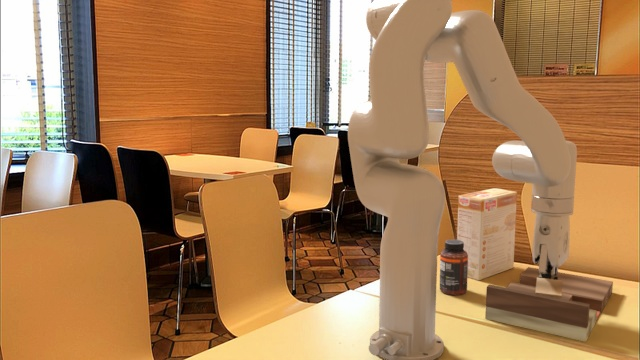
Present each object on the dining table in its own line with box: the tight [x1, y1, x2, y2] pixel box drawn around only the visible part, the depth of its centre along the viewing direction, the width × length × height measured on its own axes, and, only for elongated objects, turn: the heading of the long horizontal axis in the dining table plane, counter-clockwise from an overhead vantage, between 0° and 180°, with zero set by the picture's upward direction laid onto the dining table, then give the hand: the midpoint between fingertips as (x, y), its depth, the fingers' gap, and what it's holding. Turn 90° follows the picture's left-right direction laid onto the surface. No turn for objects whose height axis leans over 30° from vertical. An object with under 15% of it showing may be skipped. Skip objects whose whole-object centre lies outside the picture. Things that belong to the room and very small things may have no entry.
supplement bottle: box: [439, 239, 468, 296], centre depth 125 cm, size 6×6×11 cm
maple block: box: [535, 278, 562, 298], centre depth 108 cm, size 4×4×4 cm
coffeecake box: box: [456, 187, 518, 281], centre depth 138 cm, size 15×7×20 cm, turn 130°
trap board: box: [484, 266, 614, 343], centre depth 117 cm, size 30×18×6 cm, turn 145°
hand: (547, 295), depth 112 cm, fingers closed
